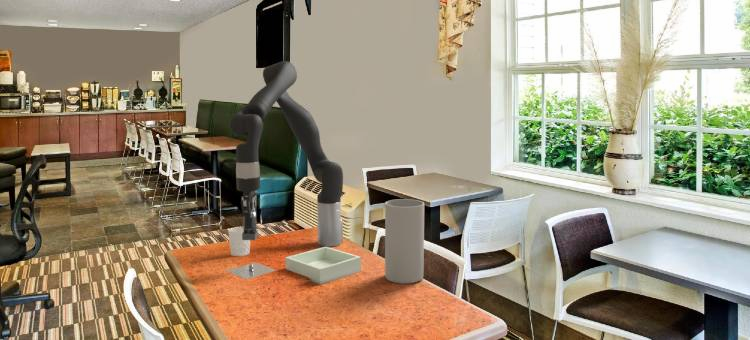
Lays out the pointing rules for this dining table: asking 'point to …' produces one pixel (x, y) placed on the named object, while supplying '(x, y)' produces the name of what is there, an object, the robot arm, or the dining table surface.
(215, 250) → the dining table surface
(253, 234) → the dark grey stamp
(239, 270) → the stud plate
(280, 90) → the robot arm
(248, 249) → the white cup
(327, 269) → the sage bin
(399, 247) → the cylinder vase
